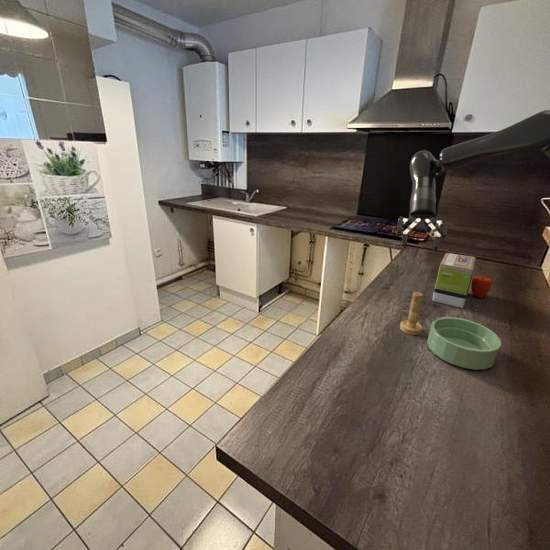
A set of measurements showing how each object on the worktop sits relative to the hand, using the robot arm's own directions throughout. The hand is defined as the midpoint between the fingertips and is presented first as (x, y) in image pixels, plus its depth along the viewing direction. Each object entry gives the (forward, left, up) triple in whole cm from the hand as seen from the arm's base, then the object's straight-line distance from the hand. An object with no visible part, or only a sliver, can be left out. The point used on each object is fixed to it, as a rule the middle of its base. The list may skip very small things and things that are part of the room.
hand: (420, 248), depth 90 cm
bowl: (+4, +22, -22) cm, 31 cm away
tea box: (-22, -2, -22) cm, 32 cm away
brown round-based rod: (+8, +9, -22) cm, 25 cm away
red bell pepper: (-33, +1, -22) cm, 40 cm away
